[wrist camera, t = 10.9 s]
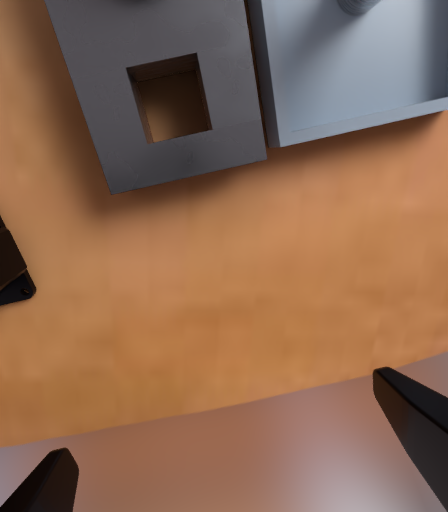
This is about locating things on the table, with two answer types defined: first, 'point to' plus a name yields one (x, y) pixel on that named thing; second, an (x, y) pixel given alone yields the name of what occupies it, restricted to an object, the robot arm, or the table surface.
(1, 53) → the table surface
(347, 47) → the tray
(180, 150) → the grey holder base
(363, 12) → the lock pin
